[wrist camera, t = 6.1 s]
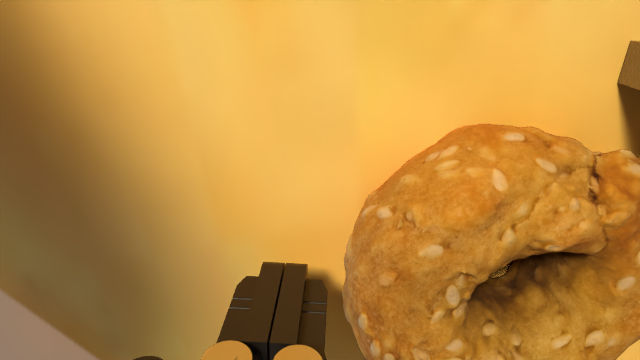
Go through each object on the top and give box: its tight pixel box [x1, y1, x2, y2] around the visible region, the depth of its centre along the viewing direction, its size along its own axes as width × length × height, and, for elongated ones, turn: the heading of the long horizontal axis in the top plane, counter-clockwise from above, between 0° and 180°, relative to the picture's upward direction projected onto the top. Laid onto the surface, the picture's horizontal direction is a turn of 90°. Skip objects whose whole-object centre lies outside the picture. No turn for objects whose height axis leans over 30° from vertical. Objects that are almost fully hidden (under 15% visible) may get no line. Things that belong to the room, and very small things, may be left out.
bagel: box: [342, 124, 640, 360], centre depth 13 cm, size 10×11×5 cm
